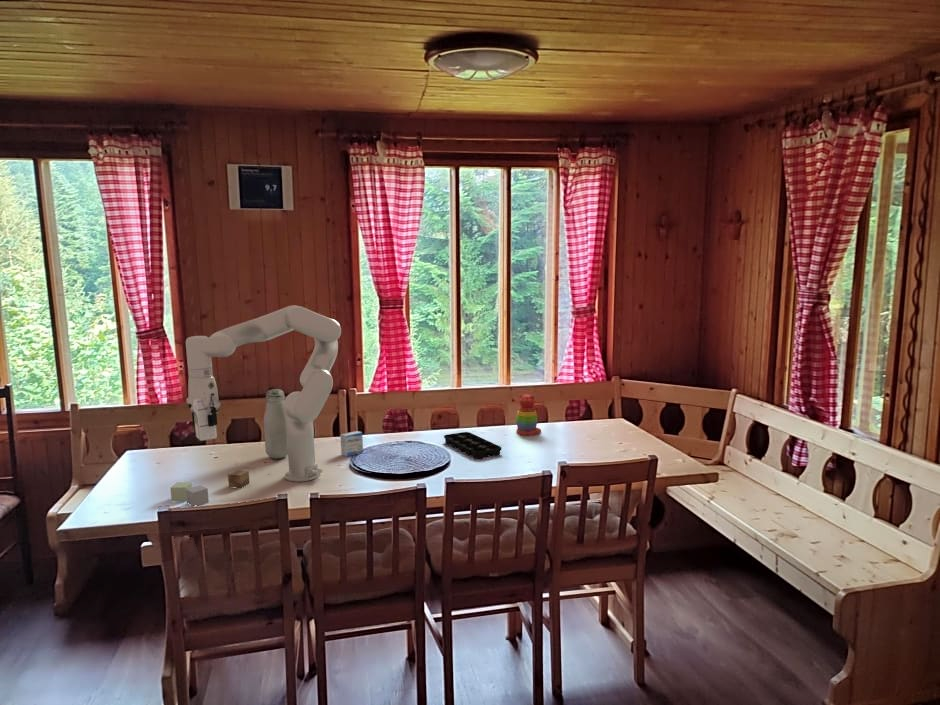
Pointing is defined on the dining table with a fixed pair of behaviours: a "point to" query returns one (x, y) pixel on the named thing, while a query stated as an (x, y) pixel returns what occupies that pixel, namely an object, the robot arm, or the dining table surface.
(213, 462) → the dining table surface
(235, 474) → the walnut cube
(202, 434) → the syrup box
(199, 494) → the slate grey cube
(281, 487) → the dining table surface
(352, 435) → the medicine box
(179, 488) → the sage green cube
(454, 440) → the egg carton
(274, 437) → the glass bottle
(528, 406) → the stacking bear
